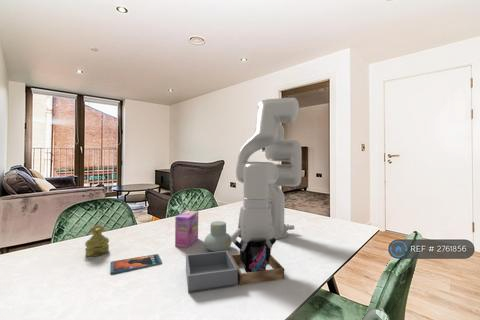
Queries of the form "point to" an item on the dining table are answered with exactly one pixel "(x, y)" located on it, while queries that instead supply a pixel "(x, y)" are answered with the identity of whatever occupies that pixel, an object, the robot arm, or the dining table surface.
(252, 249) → the supplement container
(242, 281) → the frame
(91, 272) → the dining table surface
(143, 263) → the smartphone
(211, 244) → the air freshener
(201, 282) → the bin
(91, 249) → the olive green tiered piece
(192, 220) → the box
